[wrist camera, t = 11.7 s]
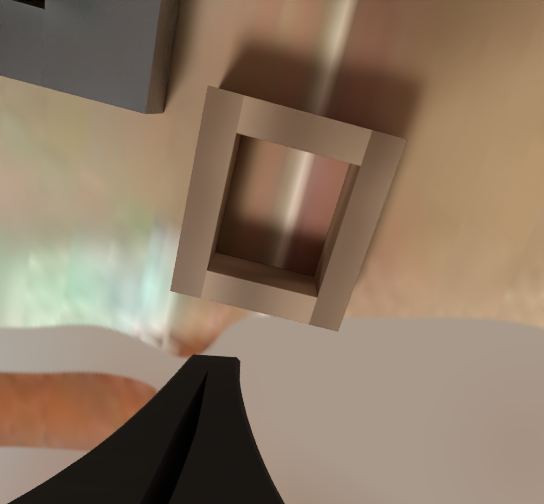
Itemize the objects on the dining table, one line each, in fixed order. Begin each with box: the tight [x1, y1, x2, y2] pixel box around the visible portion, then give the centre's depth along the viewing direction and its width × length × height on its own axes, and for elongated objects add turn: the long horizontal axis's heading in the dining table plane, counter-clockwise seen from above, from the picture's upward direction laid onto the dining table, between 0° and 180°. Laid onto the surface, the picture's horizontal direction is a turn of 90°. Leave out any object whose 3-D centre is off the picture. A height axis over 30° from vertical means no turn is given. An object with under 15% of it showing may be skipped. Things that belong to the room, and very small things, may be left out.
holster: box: [170, 86, 407, 331], centre depth 19 cm, size 8×9×2 cm
